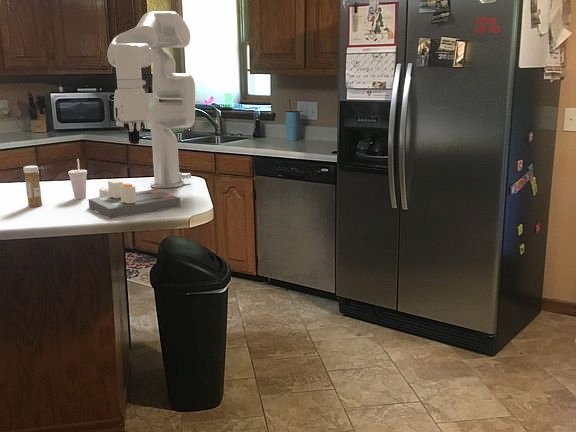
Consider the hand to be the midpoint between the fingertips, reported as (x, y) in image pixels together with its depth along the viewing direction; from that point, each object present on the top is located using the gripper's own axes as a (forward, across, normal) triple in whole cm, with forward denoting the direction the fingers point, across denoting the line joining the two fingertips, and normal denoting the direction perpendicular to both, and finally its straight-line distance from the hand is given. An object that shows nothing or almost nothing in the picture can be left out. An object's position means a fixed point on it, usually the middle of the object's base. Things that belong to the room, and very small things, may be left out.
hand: (134, 143), depth 198 cm
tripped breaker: (+18, +5, +3) cm, 19 cm away
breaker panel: (+21, +1, -2) cm, 21 cm away
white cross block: (+22, -3, -24) cm, 33 cm away
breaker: (+18, +5, -7) cm, 20 cm away
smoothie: (+22, +9, -28) cm, 37 cm away
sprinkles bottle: (+22, +25, -26) cm, 43 cm away
